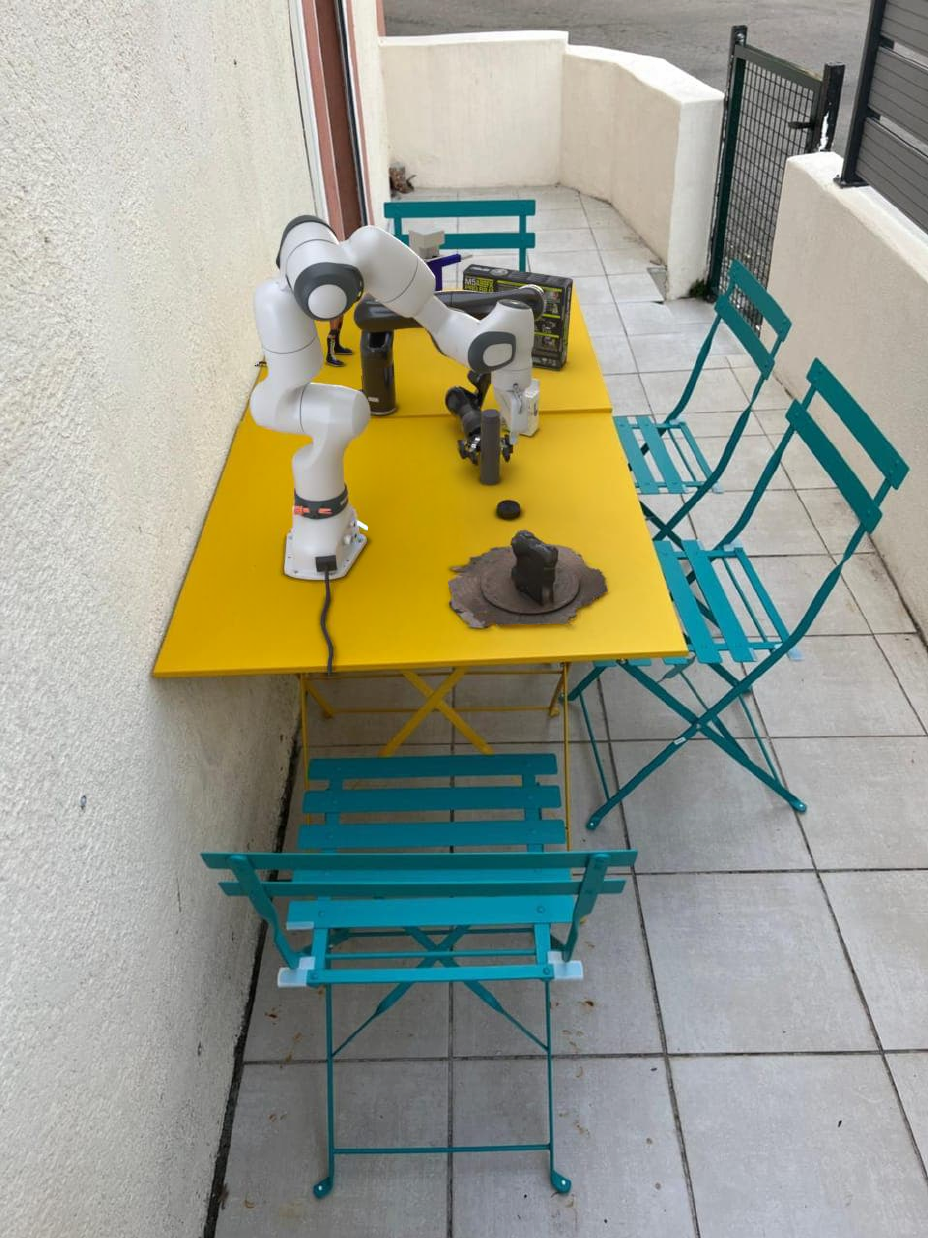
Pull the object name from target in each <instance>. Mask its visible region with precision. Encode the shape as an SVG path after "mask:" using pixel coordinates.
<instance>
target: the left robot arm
mask: <svg viewBox="0 0 928 1238" xmlns="http://www.w3.org/2000/svg"><path fill="white" fill-rule="evenodd" d="M275 265H276V267H277V268H278V270H279V272H278V274H277V275H276V276H274V277H271V278H268V279H266V280H265V281H262V282H261V283H260V284H259V285H258V286H257V287H256V288H255V290H254V292H253V296H252V309H253V316H254V323H255V327H256V332H257V335H258V339H259V342H260V345H261V348H262V352H263V356H264V360H265V362H266V363H267V364H266V366H267V375H266V377H265V378H264V379H263V380H261V381H260V382H259V383H258V384H257V385H255V387H254V388H253V390H252V392H251V395H250V397H249V411H250V414H251V417H252V419H253V421H254V423H256V425H257V426H258V427H261V428H264V429H267V430H269V431H273V432H276V433H280V434H288V435H289V434H290V435H300V436H307V437H310V438H311V440H312V442H310V443H307V444H305V445H303V446H301V447H300V448H299V449H298V450H297V451H295V453H294V455H293V457H292V460H291V469H292V470H291V471H292V477H293V483H294V489H293V504H294V505H293V506H292V508H291V510H292V523H291V524H292V526H291V527H290V530H289V532H288V533H287V535H286V543H285V555H284V574H285V575H287V576H289V577H292V578H295V579H300V580H310V581H324V585H325V600H324V605H323V608H322V611H321V615H320V628H321V632H322V635H323V636H324V639H325V641H326V645H327V648H328V658H327V663H326V664H327V665H326V666H327V667H326V670H327V672H326V673H327V677H328V678H331V677H332V676H333V659H334V647H333V643H332V640H331V637H330V636H329V635H330V634H329V632H328V630H327V627H326V614H327V611H328V608H329V605H330V599H331V587H330V585H331V584H330V580H337V579H340V578H343V577H345V576H346V575H347V573H348V572H349V571H350V569H351V567H352V566H353V564H354V563H355V561H356V559H357V558H358V557H359V556H360V553H361V552H362V551H363V549H364V548H365V546H366V544H367V542H368V539H367V536H366V535H365V534H363V533H361V532H360V527H361V528H362V529H364V530H366V531H368V528H369V527H368V526H367V525H366V524H364V523H363V522H361V521H359V520H358V514H357V510H356V508H354V506H352V505H351V503H350V502H349V489H348V486H347V483H346V482H345V472H344V470H345V469H344V459H345V453H346V451H347V449H348V447H349V446H350V445H351V443H352V442H354V440H356V439H358V438H359V437H360V436H362V435H363V434H364V433H365V431H366V430H367V428H368V427H369V424H370V422H371V421H370V420H371V415H372V414H371V412H370V405H369V402H368V400H367V398H366V397H365V395H364V394H363V393H362V392H361V391H358V390H359V389H355V388H353V387H348V386H345V385H341V384H333V383H323V382H322V383H321V382H312V381H313V380H314V379H315V378H317V376H319V374H320V373H321V371H322V369H323V367H324V362H325V357H324V356H325V355H324V351H323V349H322V344H321V340H320V336H319V333H318V328H317V324H316V322H319V323H320V322H321V323H327V322H329V321H332V320H335V319H337V318H339V317H341V316H342V315H344V316H345V314H346V313H348V312H349V311H350V310H351V309H352V308H353V306H354V304H356V303H358V302H359V301H360V299H361V298H362V296H363V295H364V291H365V292H366V293H367V292H368V293H369V294H371V295H372V296H373V297H374V298H375V299H377V300H378V301H379V302H380V303H382V304H383V305H384V306H386V307H387V308H389V309H390V310H392V311H394V312H395V313H397V314H399V315H401V316H404V317H406V318H409V317H412V318H413V319H415V320H416V321H417V322H418V323H419V324H420V325H421V326H423V327H424V328H423V329H425V330H426V332H427V334H428V336H429V337H430V340H431V342H432V345H433V346H434V347H435V349H436V351H437V352H438V353H439V354H441V355H443V356H444V357H447V358H448V359H452V360H453V361H454V362H457V363H458V364H460V365H462V366H463V367H465V368H467V369H469V370H472V371H474V372H476V373H479V374H487V373H490V372H491V385H492V392H493V397H494V400H495V402H496V404H497V406H498V408H499V412H500V419H501V426H502V427H504V426H508V427H509V430H510V431H509V434H508V435H509V442H510V444H511V445H518V443H519V437H520V435H521V434H520V433H524V432H526V430H527V422H528V405H527V399H526V397H525V395H524V392H525V389H526V388H528V387H529V386H530V385H531V379H533V378H532V376H533V366H532V357H531V351H532V348H533V344H534V317H533V312H532V309H531V308H530V307H529V306H528V305H526V304H525V303H522V302H520V301H516V300H511V299H503V300H500V301H498V302H497V304H496V307H495V308H494V310H493V311H492V312H491V313H490V314H489V315H488V316H487V317H485V318H484V319H482V320H481V321H479V320H477V319H475V318H473V317H472V316H470V315H469V314H467V313H466V312H464V311H462V310H460V309H455V308H449V307H446V306H445V305H444V304H443V303H442V302H441V301H440V300H439V299H438V298H437V297H435V296H434V293H435V287H436V280H435V276H434V274H433V273H432V271H431V270H430V269H429V267H428V266H427V265H426V263H425V262H424V261H423V260H422V259H421V258H420V257H419V256H418V255H417V254H416V253H415V252H413V251H412V250H411V249H410V248H409V245H407V244H406V243H404V242H402V241H401V240H400V239H398V237H395V236H394V235H393V234H390V233H389V232H388V231H386V230H385V229H382V228H381V227H378V226H376V225H365V226H362V227H360V228H357V229H356V230H355V231H354V232H353V233H352V234H351V235H350V236H349V238H348V239H346V240H342V241H339V238H338V235H337V234H336V232H335V230H334V229H333V228H332V227H331V225H330V224H329V223H328V222H327V221H326V220H325V219H323V218H321V217H320V216H317V215H315V214H302V215H298V216H296V217H294V218H293V219H292V220H290V221H289V222H288V223H287V225H286V226H285V228H284V230H283V233H282V235H281V239H280V244H279V249H278V252H277V255H276V258H275Z"/></svg>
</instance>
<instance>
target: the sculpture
mask: <svg viewBox="0 0 928 1238" xmlns="http://www.w3.org/2000/svg"><path fill="white" fill-rule="evenodd" d="M489 550H490V551H488V552H483V553H481V555H477V556H470V557H469V562H468V563H467V564H465V565H462V566H457V567H456V566H455V567H451V570H453V571H459V572H457V574H456V575H457V576H456V577H454V578H450V579H449V580H447V584H448V587H449V590H450V593H451V594H452V597H451V599H450V600H449V601H448V606H449V607H450V609H452V610H453V611H454V612H455V613H456V614H457V615H458V616H459V617H460V618H461V619H462V621H464V622H466V623H468V625H467V627H468V628H474V629H483V628H484V629H489V627H488V626H489V624H491V623H494V624H495V625H496V626H497V627H500V626H506V625H508V626H509V625H549V624H559V625H567V624H568V625H569V626H573V625H572V623H570V622H569V621H568V620H571V619H574V618H577V612H578V609H580V608H582V607H584V606H589V605H591V604H592V602H593V601H594V600H595V599H599V598H600V597H601V595H603V594H605V593H607V592H608V589H609V587H608V586H607V584H606V579H607V578H606V577H605V576H604V575H603V571H601V570H600V569H599V568H596V569H595V568H593V567H590V566H588V565H587V564H586V562H585V560H584V559H583V555H582V554H580V552H577V551H575V550H573V549H572V548H570V547H567V546H563V545H559V544H558V545H557V544H550V543H546V542H544V541H543V540H542V539H539V537H537V536H535V534H534V533H533V532H532V531H529V530H528V529H520V530H517V531H516V533H515V534H514V536H513V537H511V540H510V544H509V546H499V547H498V546H497V547H496V546H494V547H491V548H490V549H489ZM576 553H577V554H576ZM474 563H475V564H474Z"/></svg>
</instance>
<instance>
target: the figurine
mask: <svg viewBox="0 0 928 1238" xmlns="http://www.w3.org/2000/svg"><path fill="white" fill-rule="evenodd" d="M344 316H345V314H344V315H342V316H341V317H339V318H337V319H335V320H332V321H328V323H329V332H328V334H327V337H326V345H327V352H326V358H325V360H326V363H327V364H328V365H331V366H335V367H343V366H344V365H345V362H344V361H343V360H340V359H339V358H338V357H336V356H335V354H336V355H352V354H353V351H352V349H351V348H349V347H346V346H343V345H342V344H341V341H340V340H341V339H340V338H341V331H342V328H343V323H344V318H345V317H344Z"/></svg>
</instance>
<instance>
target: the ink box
mask: <svg viewBox="0 0 928 1238" xmlns="http://www.w3.org/2000/svg"><path fill="white" fill-rule="evenodd" d="M540 384H541V383H540V379H536V378H532V379H531V385H530V386H529V387H528V388H526V389H525V392H524V395H525V397H526V399H527V405H528V422H527V430H526V432H524V433H520V434H519V435H524V436H528V437H532V436H533V434H535V432H537V430H538V427H539V410H540V396H541V395H540V394H541V391H540ZM503 430H505V431H508V432H510V430H509V427H508V426H503Z"/></svg>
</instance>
